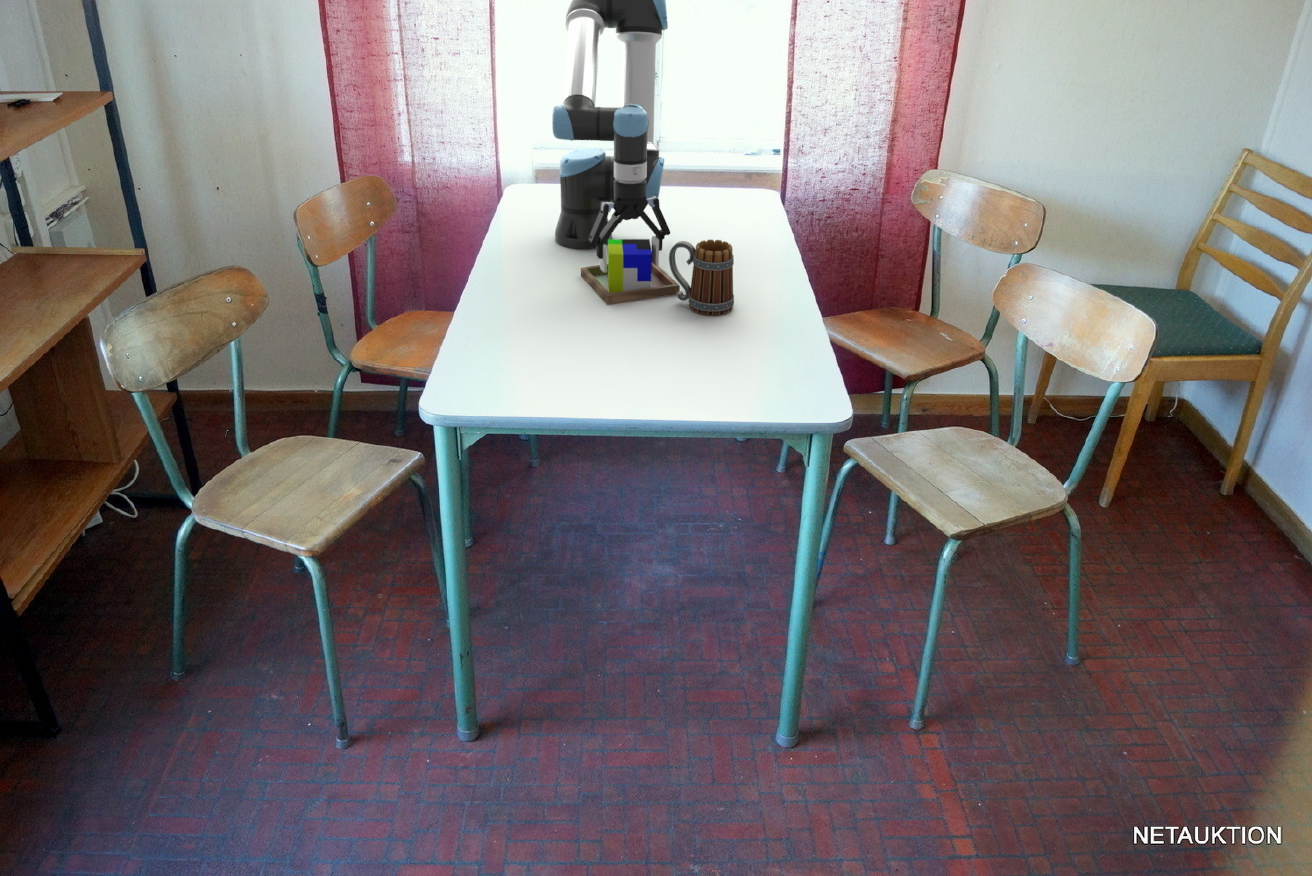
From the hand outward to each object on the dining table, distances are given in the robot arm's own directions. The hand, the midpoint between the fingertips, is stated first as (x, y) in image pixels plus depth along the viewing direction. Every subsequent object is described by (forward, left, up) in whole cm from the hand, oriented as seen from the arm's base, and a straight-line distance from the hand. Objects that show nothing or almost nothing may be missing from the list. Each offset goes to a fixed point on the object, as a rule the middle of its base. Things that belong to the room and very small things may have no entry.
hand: (629, 267), depth 244 cm
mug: (+17, +11, -5) cm, 21 cm away
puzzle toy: (0, 0, -5) cm, 5 cm away
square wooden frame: (0, 0, -5) cm, 5 cm away
